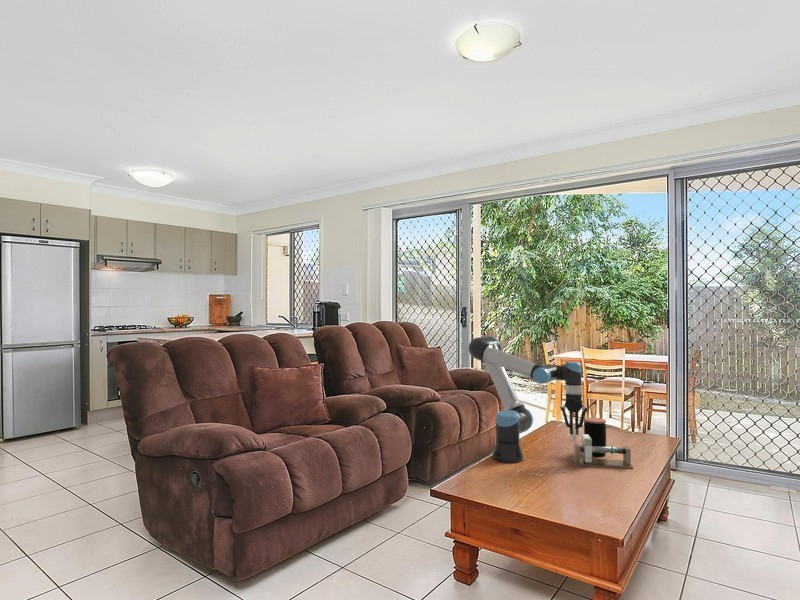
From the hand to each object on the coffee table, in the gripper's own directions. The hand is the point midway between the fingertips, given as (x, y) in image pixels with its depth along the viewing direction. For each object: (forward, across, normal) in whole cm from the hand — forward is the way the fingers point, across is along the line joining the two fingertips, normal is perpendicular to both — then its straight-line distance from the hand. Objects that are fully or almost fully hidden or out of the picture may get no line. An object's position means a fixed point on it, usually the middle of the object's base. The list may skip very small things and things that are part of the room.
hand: (574, 441), depth 251 cm
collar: (+9, +6, 0) cm, 10 cm away
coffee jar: (+11, +13, +17) cm, 24 cm away
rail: (+11, +13, 0) cm, 17 cm away
